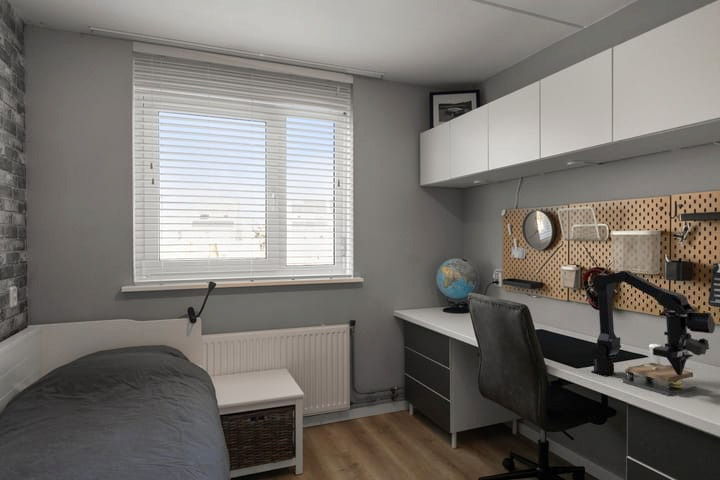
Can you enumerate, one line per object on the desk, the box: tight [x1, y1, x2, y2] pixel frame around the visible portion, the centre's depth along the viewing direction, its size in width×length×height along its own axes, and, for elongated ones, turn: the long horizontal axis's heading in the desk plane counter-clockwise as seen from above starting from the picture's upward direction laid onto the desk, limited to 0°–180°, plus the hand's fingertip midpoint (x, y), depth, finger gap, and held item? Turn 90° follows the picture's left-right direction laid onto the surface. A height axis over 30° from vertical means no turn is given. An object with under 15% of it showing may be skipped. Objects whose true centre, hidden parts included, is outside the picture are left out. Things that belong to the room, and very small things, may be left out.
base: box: [622, 372, 698, 397], centre depth 157 cm, size 16×16×4 cm
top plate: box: [624, 362, 694, 382], centre depth 158 cm, size 15×14×3 cm
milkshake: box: [648, 342, 665, 365], centre depth 183 cm, size 4×5×10 cm
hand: (679, 374), depth 151 cm, fingers closed, pressing on top plate
